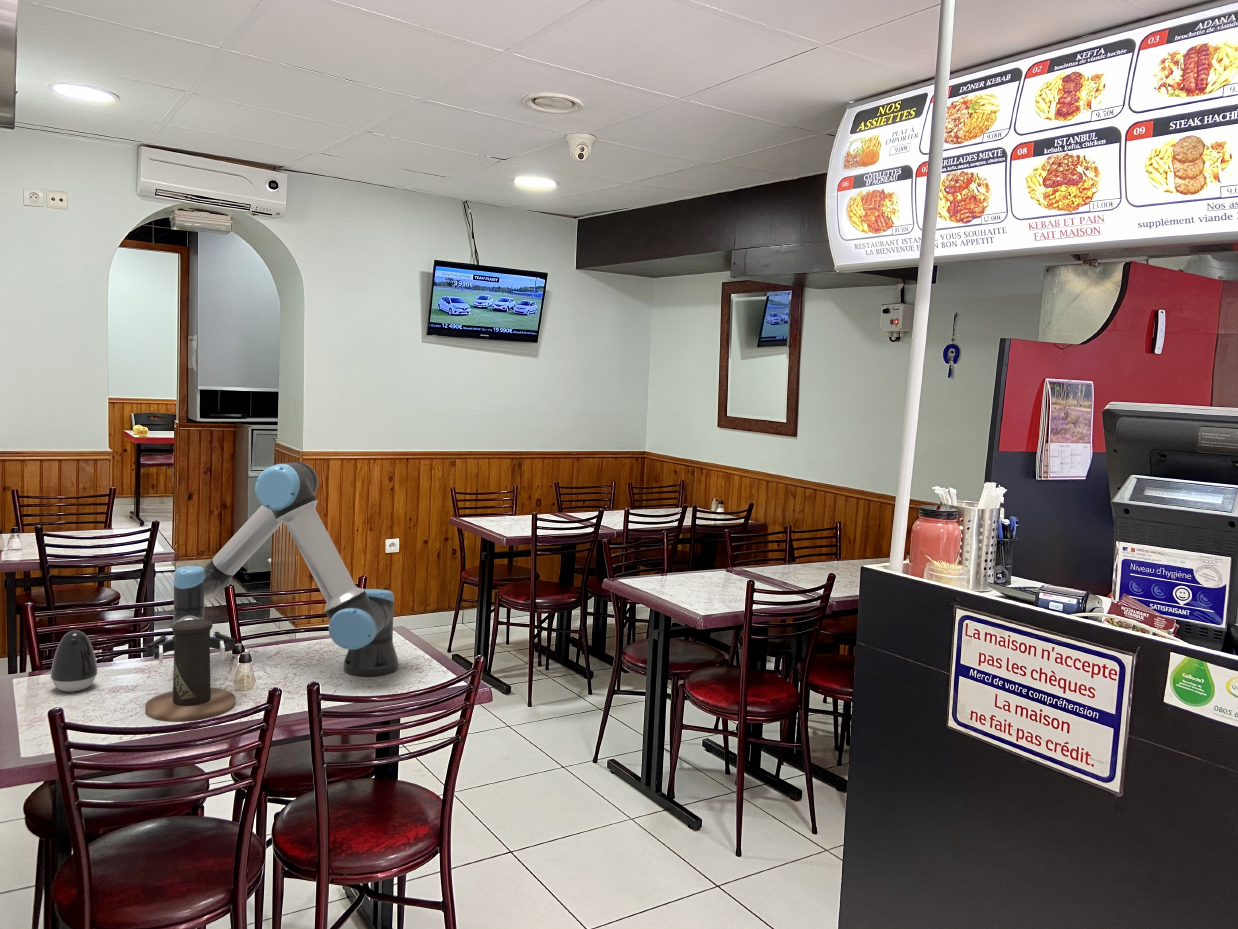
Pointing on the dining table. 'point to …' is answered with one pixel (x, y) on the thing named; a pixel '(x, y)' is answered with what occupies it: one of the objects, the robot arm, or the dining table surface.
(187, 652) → the container
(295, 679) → the dining table surface
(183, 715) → the round wooden board
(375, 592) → the robot arm
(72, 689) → the black egg shaped device
